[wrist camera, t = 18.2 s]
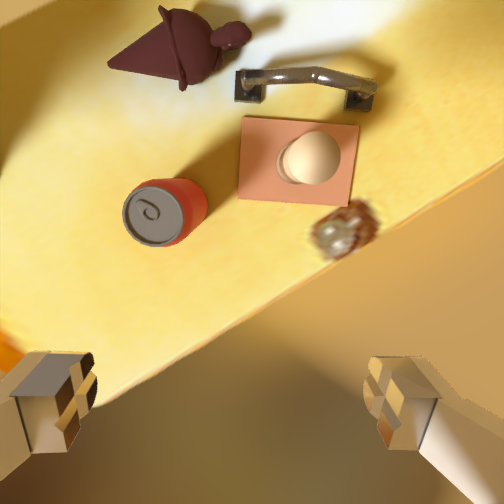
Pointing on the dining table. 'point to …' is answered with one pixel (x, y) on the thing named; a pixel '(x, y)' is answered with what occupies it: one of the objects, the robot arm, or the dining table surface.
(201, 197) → the beer can
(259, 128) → the tile
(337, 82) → the bent metal handle
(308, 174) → the birch post
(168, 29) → the icecream
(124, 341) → the dining table surface
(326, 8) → the dining table surface
